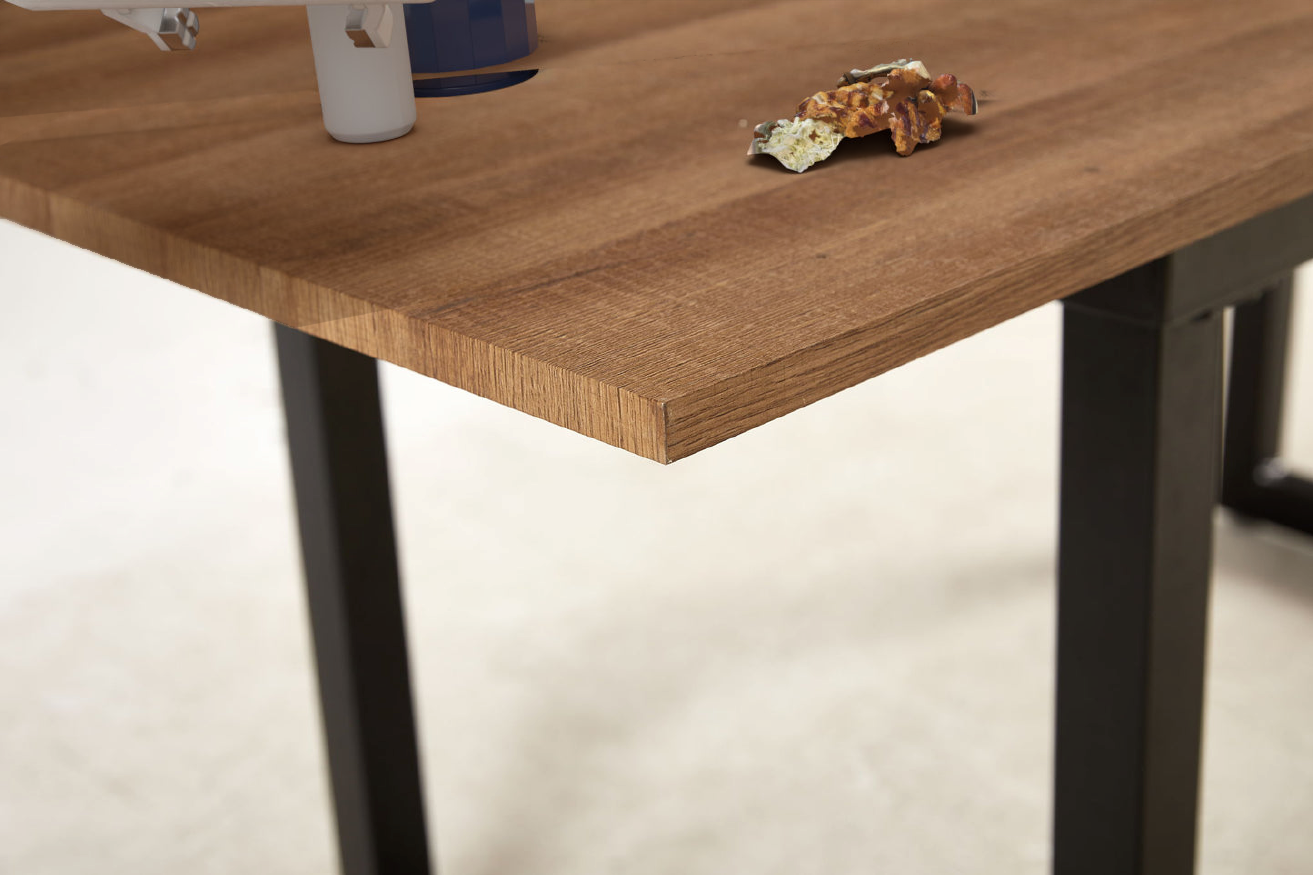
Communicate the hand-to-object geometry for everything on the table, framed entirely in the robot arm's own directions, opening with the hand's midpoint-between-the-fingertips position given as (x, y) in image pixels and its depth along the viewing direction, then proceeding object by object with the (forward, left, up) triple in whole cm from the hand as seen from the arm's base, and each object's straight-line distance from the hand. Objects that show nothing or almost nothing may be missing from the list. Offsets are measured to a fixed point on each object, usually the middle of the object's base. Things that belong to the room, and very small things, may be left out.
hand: (278, 36), depth 71 cm
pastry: (+27, -2, -7) cm, 28 cm away
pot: (+8, +20, -7) cm, 23 cm away
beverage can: (+3, +9, -7) cm, 12 cm away
